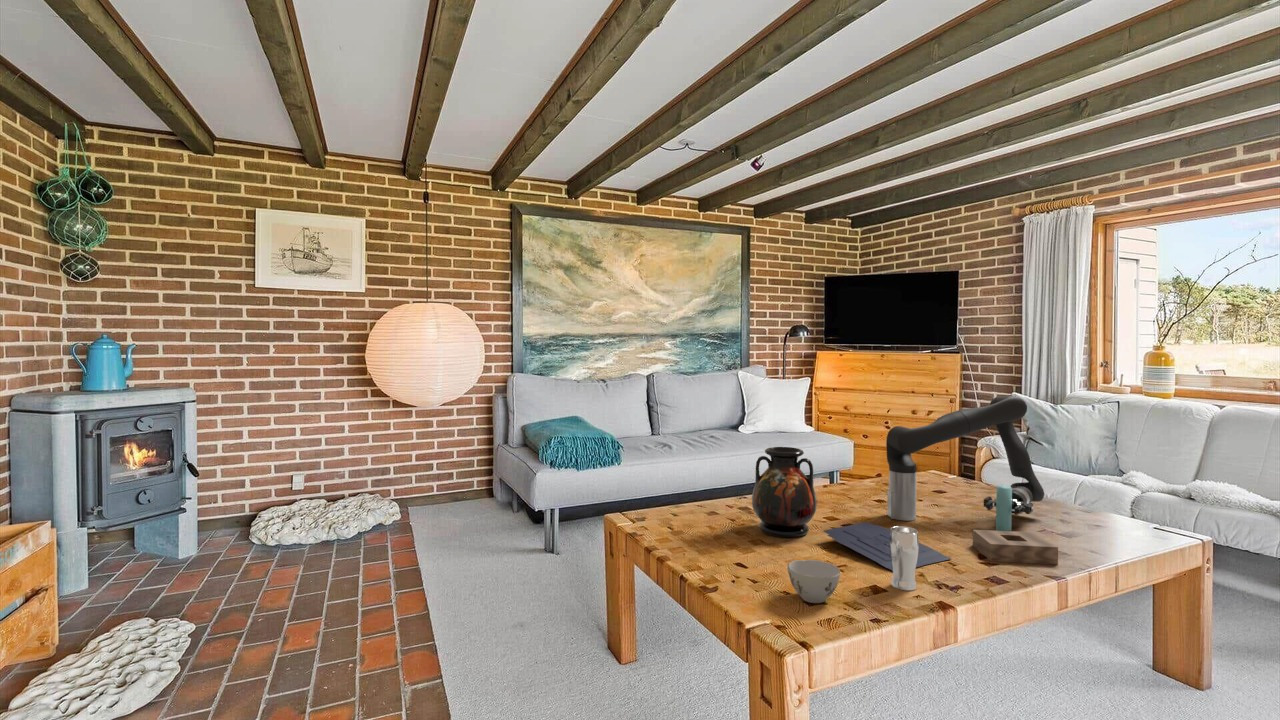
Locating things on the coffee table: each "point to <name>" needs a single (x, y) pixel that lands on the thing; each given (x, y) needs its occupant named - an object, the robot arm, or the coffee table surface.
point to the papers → (878, 544)
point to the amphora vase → (784, 494)
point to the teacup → (813, 579)
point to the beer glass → (904, 557)
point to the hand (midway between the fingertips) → (1002, 509)
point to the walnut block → (1015, 547)
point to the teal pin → (1003, 508)
